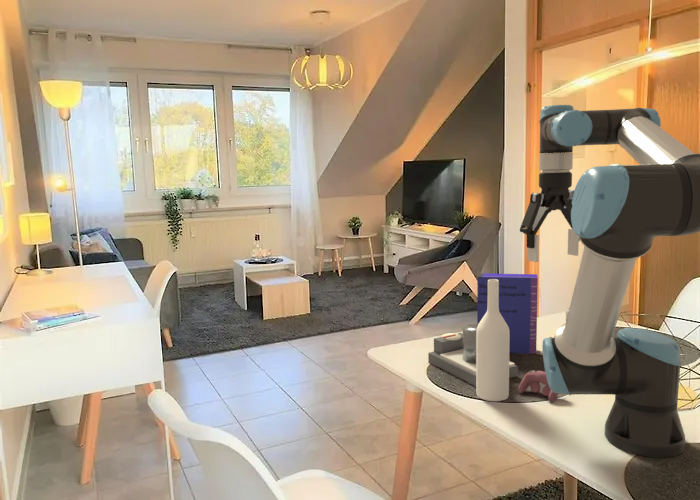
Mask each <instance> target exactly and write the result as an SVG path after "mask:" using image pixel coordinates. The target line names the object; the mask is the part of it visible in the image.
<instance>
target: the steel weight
mask: <svg viewBox="0 0 700 500" xmlns="http://www.w3.org/2000/svg"><path fill="white" fill-rule="evenodd" d="M477 326H478V324H477V323H470V324H465V325H463V326H462V333H463V360H464V361H465V362H468V363H472V364H476V331H477Z"/></svg>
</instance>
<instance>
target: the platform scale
mask: <svg viewBox="0 0 700 500" xmlns="http://www.w3.org/2000/svg"><path fill="white" fill-rule="evenodd" d="M428 363H429V364H431V365H433V366H434V367H436V366H437V368H438V367H439V369H440V368H441V369H440V370H442V369H443V370H442V371H444V370H445V372H446V371H447V373H448V372H449V374H450V373H451V374H450V375H452V374H453V375H452V376H454V375H455V376H454V377H456V376H457V377H456V378H458V377H459V378H458V379H460V378H461V379H460V380H462V379H463V380H462V381H464V380H465V381H464V382H466V381H467V382H466V383H468V384H470V385H472V386H474V387H476V364H472V363H468V362H465V361H464V360H463V332H457V333H456V332H452V333H451V332H448V333H444V334H442V335H441V336H440V337H435V338H433V351H430V352H428ZM513 377H514V378H517V377H518V365H517V364H516V363H515V362H513V361H510V360H509V378H510V379H514V378H513Z"/></svg>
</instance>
